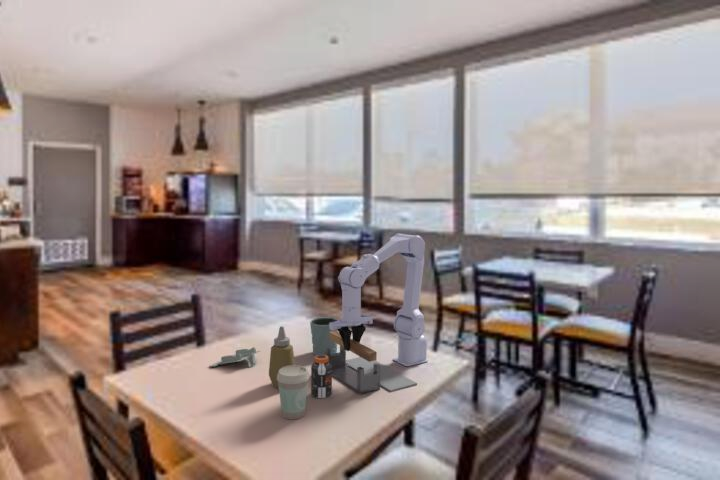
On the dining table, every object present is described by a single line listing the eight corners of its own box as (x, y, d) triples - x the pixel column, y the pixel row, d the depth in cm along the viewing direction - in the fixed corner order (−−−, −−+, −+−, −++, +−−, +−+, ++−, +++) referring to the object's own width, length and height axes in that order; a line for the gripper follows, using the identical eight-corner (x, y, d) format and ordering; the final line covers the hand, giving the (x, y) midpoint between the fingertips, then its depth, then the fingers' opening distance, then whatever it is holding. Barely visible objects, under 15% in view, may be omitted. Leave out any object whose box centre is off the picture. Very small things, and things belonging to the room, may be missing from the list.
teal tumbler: (344, 352, 174) (344, 319, 173) (327, 360, 166) (327, 326, 164) (321, 347, 180) (321, 315, 178) (304, 354, 171) (304, 322, 170)
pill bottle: (328, 399, 135) (328, 361, 134) (308, 397, 136) (308, 359, 135) (334, 391, 141) (334, 353, 140) (314, 389, 142) (314, 352, 141)
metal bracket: (265, 343, 166) (236, 356, 153) (269, 359, 166) (241, 374, 153) (234, 348, 173) (204, 361, 159) (238, 364, 173) (208, 379, 159)
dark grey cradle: (342, 366, 161) (343, 344, 160) (380, 389, 142) (380, 364, 141) (324, 370, 157) (324, 347, 156) (360, 394, 139) (360, 369, 138)
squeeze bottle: (300, 381, 147) (300, 324, 145) (288, 392, 140) (287, 332, 138) (277, 378, 150) (276, 322, 148) (263, 388, 142) (262, 329, 140)
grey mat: (366, 357, 169) (366, 355, 169) (417, 384, 146) (417, 383, 146) (342, 362, 164) (342, 360, 164) (390, 391, 140) (390, 390, 140)
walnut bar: (335, 338, 159) (335, 330, 159) (376, 360, 139) (376, 351, 139) (329, 339, 158) (329, 331, 158) (369, 361, 138) (369, 353, 137)
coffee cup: (295, 425, 120) (295, 379, 119) (270, 416, 125) (269, 372, 123) (316, 412, 128) (316, 368, 126) (291, 404, 132) (291, 362, 131)
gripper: (337, 312, 140) (337, 357, 141) (378, 305, 148) (377, 348, 149) (325, 307, 146) (325, 350, 147) (365, 301, 153) (365, 342, 155)
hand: (351, 349), depth 149 cm, fingers closed on walnut bar, 2 cm apart
